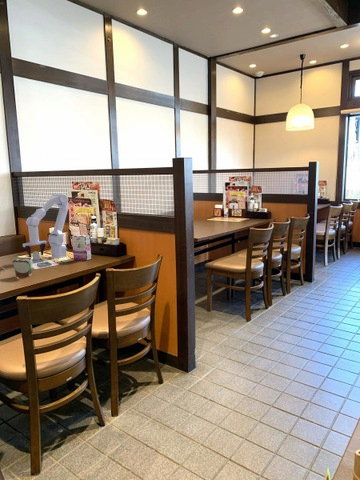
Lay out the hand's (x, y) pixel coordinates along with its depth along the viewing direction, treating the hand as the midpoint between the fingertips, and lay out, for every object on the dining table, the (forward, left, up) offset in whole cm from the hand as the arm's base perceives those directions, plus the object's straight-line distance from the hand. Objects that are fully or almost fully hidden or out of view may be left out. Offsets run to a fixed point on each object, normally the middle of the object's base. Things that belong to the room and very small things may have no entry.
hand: (36, 256), depth 229 cm
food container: (+15, +27, -4) cm, 31 cm away
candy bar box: (-25, +15, -4) cm, 29 cm away
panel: (0, +7, -4) cm, 8 cm away
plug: (0, 0, -4) cm, 4 cm away
